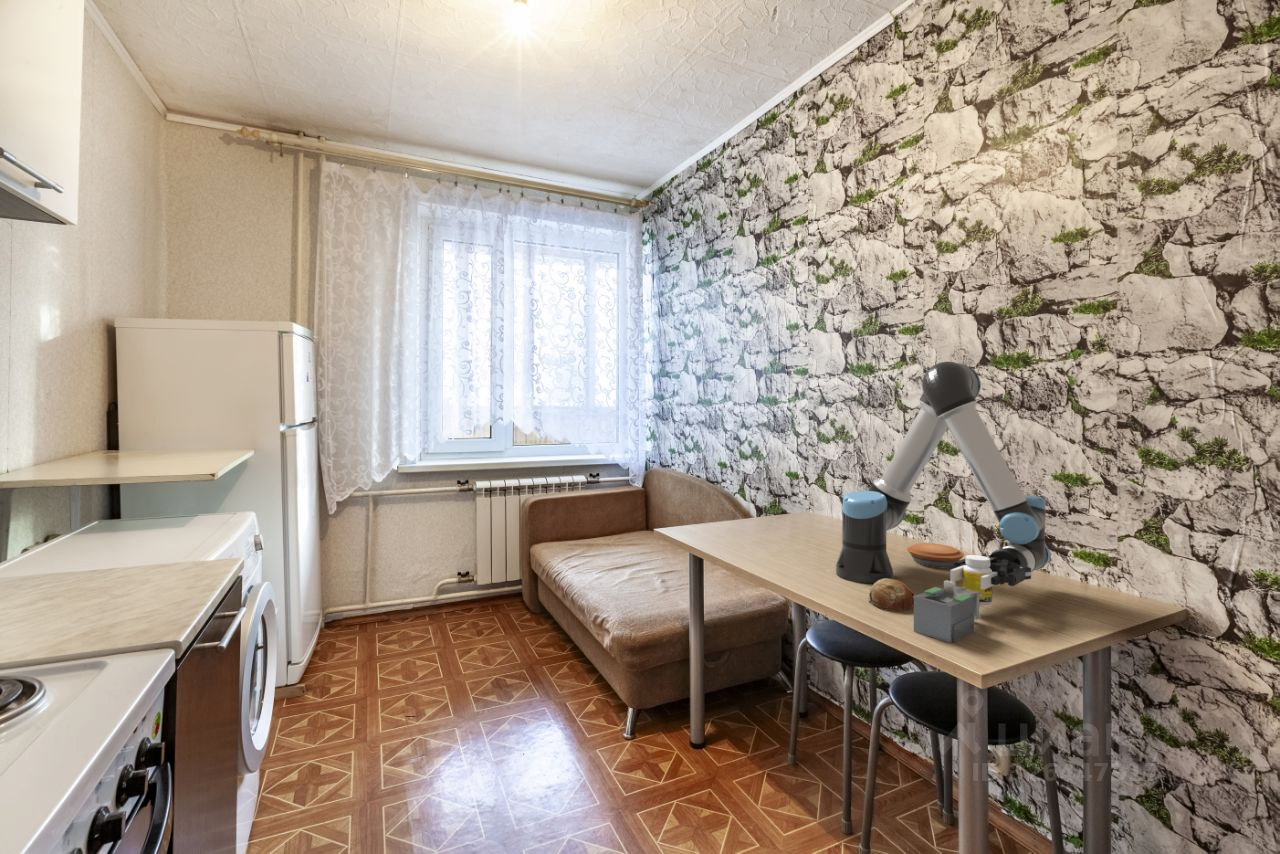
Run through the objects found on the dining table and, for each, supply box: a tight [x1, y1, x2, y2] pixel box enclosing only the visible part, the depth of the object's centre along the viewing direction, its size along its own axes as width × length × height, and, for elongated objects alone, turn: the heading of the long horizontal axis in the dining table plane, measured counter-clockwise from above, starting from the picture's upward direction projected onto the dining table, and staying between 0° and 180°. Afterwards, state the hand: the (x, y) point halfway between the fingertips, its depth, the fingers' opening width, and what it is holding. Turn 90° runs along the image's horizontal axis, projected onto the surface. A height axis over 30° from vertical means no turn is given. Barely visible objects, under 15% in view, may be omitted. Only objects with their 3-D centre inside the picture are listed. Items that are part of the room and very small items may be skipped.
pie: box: [906, 542, 965, 568], centre depth 170 cm, size 16×16×5 cm
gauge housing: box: [913, 586, 975, 644], centre depth 118 cm, size 10×8×8 cm
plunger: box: [939, 579, 980, 621], centre depth 121 cm, size 10×5×9 cm, turn 126°
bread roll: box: [868, 578, 915, 612], centre depth 135 cm, size 10×10×8 cm
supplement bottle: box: [962, 554, 993, 606], centre depth 127 cm, size 6×6×10 cm
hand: (966, 579), depth 124 cm, fingers closed on supplement bottle, 6 cm apart
